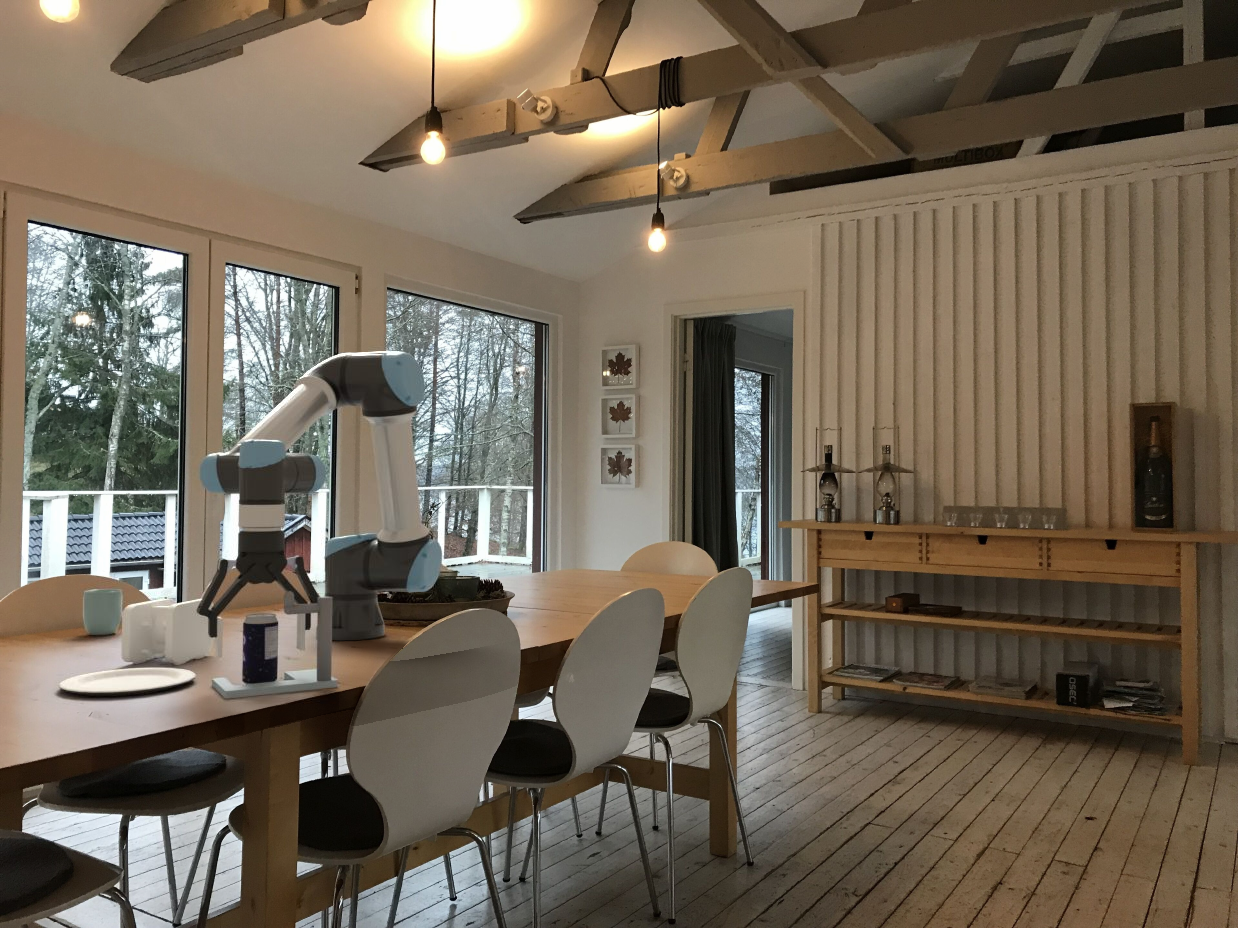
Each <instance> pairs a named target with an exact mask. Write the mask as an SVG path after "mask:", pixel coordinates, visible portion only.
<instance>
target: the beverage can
mask: <svg viewBox="0 0 1238 928" xmlns="http://www.w3.org/2000/svg"><path fill="white" fill-rule="evenodd" d="M276 616H277V614H276V613H272V612H271V613H270V612H266V613H264V612H262V613H261V612H258V613H249V614H246V615H245V618H244V621H243V623H242V665H241V666H242V669H241V671H242V673H241V678H242V679H241V680H242V681H241V682H243V683H244V685H245V684H256V683H266V682H276V681H278V671H279V670H278V669H279V668H278V665H279V664H278V663H279V662H278V661H279V657H278V656H279V654H278V653H279V652H278V651H279V621H278V619H277V617H276Z"/></svg>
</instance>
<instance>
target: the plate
mask: <svg viewBox="0 0 1238 928" xmlns="http://www.w3.org/2000/svg"><path fill="white" fill-rule="evenodd" d="M196 676H197V674H196V673H194V672H193V671H192V670H188V669H183V668H176V667H133V668H120V669H110V670H109V669H108V670H103V671H102V670H101V671H95V672H90V673H83V674H80V675H76V676H72V677H69V678H67V679H64V680H62V681H61V682H60V683H59V684H58V688H59V689H60V690H61V691H63V692H64V691H65V692H67V693H72V694H79V695H85V696H90V697H91V696H92V697H93V696H94V697H97V696H98V697H119V696H120V697H121V696H135V695H143V694H145V695H146V694H151V693H157V692H161V691H166V690H169V689H172V688H175V687H178V686H179V687H180V686H182V685H185V684H188V683H190V682H192V681H193V680H195V679H196Z"/></svg>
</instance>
